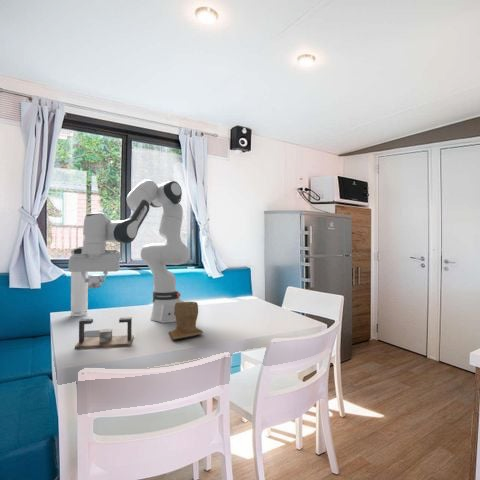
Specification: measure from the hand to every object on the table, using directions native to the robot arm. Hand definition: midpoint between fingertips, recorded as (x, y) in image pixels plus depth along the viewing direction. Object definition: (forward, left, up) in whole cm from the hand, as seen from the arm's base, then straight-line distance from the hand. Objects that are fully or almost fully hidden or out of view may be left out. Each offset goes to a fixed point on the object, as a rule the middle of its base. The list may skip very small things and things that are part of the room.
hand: (94, 282), depth 141 cm
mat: (0, 0, -23) cm, 23 cm away
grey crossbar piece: (0, 0, -2) cm, 2 cm away
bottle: (+16, -39, -23) cm, 48 cm away
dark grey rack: (-7, +12, -23) cm, 27 cm away
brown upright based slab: (-38, +8, -23) cm, 45 cm away
